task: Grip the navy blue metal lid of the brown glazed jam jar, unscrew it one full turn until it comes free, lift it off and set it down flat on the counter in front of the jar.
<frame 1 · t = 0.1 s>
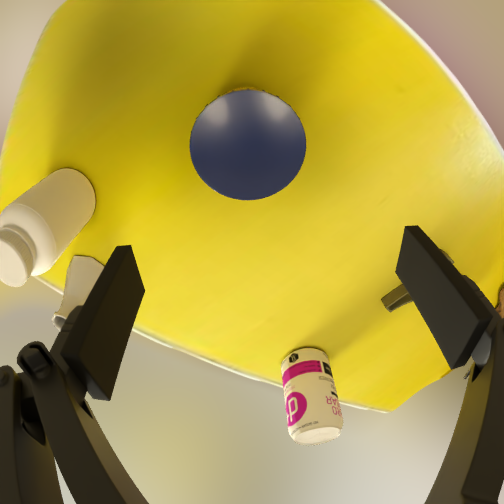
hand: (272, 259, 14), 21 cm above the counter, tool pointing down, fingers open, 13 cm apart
pill bottle: (71, 195, 33), on the counter
flask: (90, 274, 40), on the counter
supplement can: (303, 359, 51), on the counter
brown irregular lump: (499, 302, 47), on the counter
jam lid: (247, 145, 21), point 11 cm above the counter, screwed on, not yet turned
cookie cutter: (430, 285, 43), on the counter
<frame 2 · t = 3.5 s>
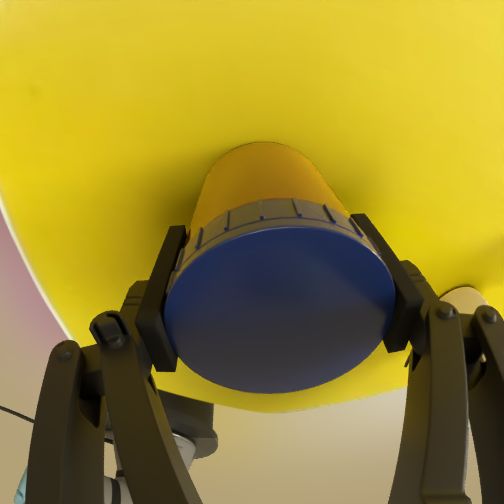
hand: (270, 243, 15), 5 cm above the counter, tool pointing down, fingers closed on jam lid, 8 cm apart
pill bottle: (448, 312, 27), on the counter
jam jar: (263, 202, 20), on the counter
jam lid: (282, 322, 11), point 11 cm above the counter, screwed on, not yet turned, touching gripper
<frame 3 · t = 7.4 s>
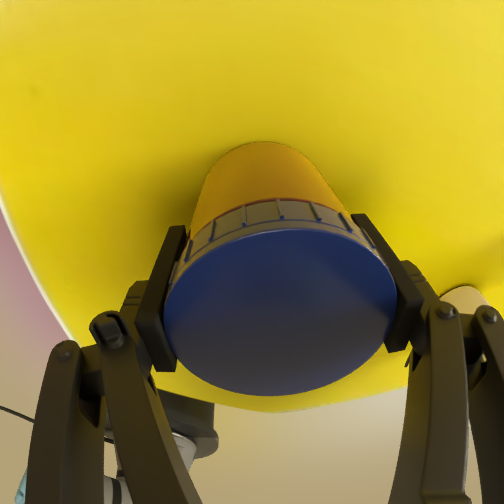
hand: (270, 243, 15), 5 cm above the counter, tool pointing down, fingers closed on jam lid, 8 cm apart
pill bottle: (449, 312, 27), on the counter
jam jar: (263, 202, 20), on the counter
jam lid: (282, 325, 11), point 11 cm above the counter, turned 127° so far, risen 0.2 cm, still on its thread, touching gripper
when the fingers open (5 cm above the counter, at t = 9.2 s): jam lid stays where it is, point 11 cm above the counter.
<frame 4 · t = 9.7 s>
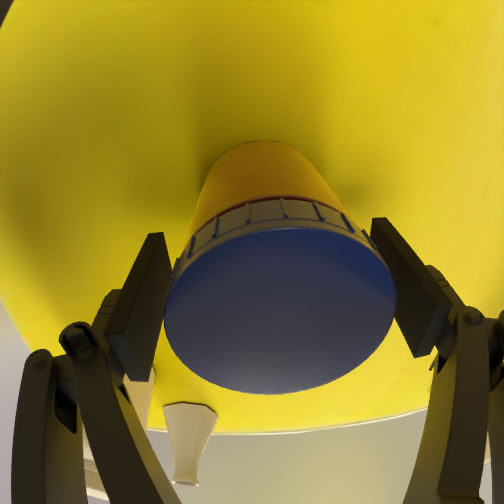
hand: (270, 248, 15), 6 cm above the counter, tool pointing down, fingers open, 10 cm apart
pill bottle: (121, 362, 29), on the counter
jam jar: (263, 200, 20), on the counter
flask: (190, 413, 35), on the counter
jam lid: (282, 323, 11), point 11 cm above the counter, turned 254° so far, risen 0.3 cm, still on its thread
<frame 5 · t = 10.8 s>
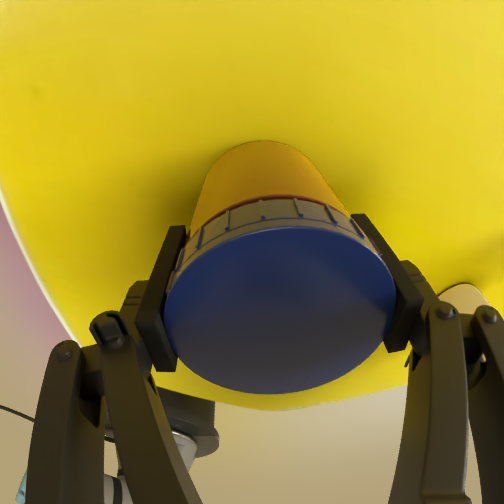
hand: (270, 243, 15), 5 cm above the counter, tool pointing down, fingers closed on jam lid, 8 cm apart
pill bottle: (448, 310, 27), on the counter
jam jar: (263, 200, 20), on the counter
jam lid: (282, 323, 11), point 11 cm above the counter, turned 254° so far, risen 0.3 cm, still on its thread, touching gripper
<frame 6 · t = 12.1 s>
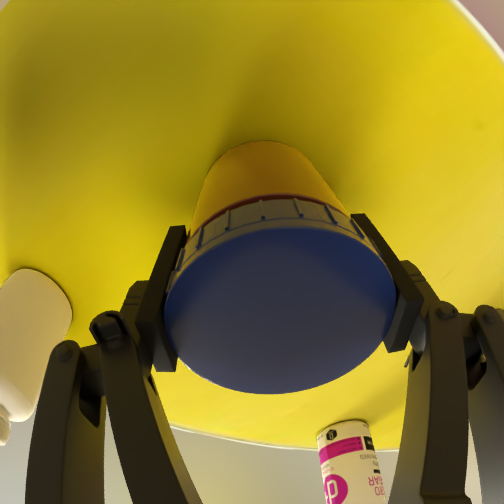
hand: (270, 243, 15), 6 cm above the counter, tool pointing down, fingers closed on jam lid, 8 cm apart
pill bottle: (41, 297, 24), on the counter
jam jar: (262, 199, 20), on the counter
supplement can: (341, 429, 40), on the counter
jam lid: (282, 323, 11), point 11 cm above the counter, off its thread, touching gripper
when the fingers open (0 cm above the counter, at t = 19.3 s): jam lid drops 4 cm, point 1 cm above the counter.
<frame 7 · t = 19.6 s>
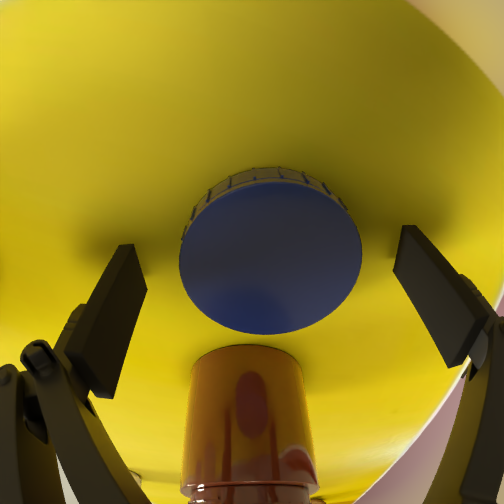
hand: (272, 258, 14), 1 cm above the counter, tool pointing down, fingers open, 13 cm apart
jam jar: (246, 379, 21), on the counter
brown irregular lump: (304, 500, 53), on the counter
jam lid: (271, 265, 14), point 1 cm above the counter, off its thread
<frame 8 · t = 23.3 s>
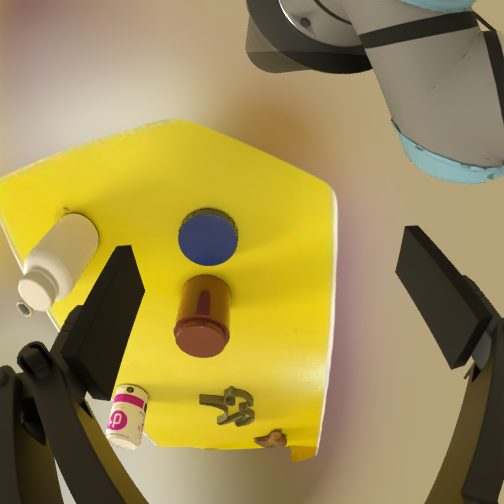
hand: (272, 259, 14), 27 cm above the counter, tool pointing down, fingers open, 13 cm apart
pill bottle: (79, 234, 43), on the counter
jam jar: (206, 294, 50), on the counter
flask: (49, 272, 47), on the counter
supplement can: (133, 391, 67), on the counter
brown irregular lump: (269, 435, 81), on the counter
jam lid: (207, 239, 43), point 1 cm above the counter, off its thread
cookie cutter: (231, 404, 70), on the counter
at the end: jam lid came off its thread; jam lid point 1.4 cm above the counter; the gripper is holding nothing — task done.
